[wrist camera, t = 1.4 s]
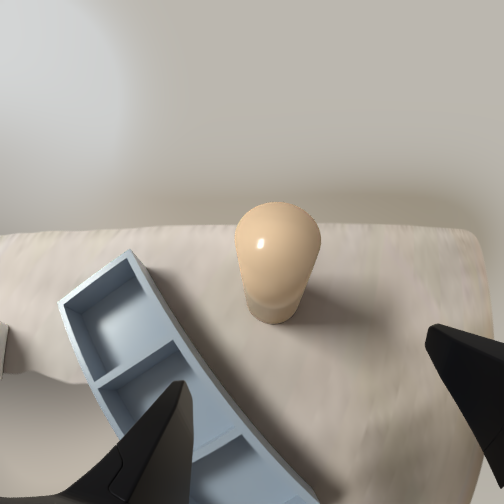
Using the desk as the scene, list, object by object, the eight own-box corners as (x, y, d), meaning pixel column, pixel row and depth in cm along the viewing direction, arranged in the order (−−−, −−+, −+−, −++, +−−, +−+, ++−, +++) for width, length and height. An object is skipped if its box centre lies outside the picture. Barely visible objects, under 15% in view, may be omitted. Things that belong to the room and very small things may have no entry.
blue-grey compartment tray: (312, 488, 15) (321, 504, 12) (226, 535, 13) (220, 554, 10) (145, 266, 25) (129, 248, 22) (78, 314, 23) (57, 302, 19)
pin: (308, 290, 23) (334, 225, 14) (281, 333, 22) (294, 293, 13) (264, 265, 24) (264, 190, 16) (236, 306, 23) (217, 248, 14)
